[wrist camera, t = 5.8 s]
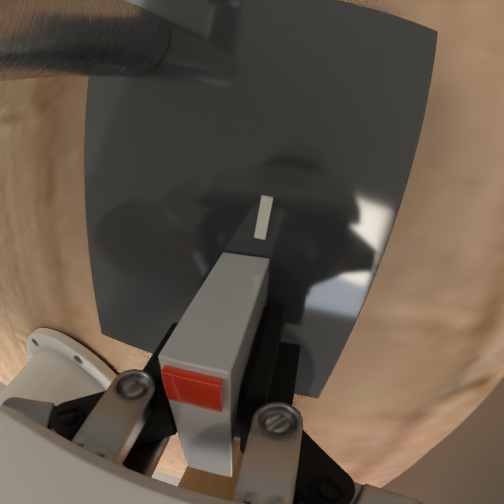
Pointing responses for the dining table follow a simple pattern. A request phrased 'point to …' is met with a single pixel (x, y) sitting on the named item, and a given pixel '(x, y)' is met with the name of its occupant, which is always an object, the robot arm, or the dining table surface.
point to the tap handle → (214, 360)
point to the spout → (79, 39)
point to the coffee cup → (211, 481)
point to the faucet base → (254, 164)
